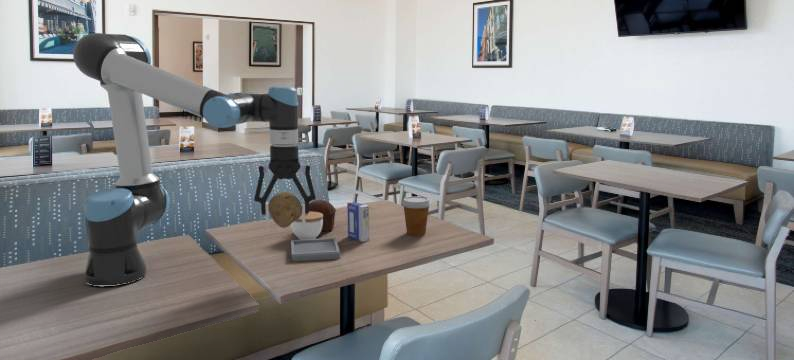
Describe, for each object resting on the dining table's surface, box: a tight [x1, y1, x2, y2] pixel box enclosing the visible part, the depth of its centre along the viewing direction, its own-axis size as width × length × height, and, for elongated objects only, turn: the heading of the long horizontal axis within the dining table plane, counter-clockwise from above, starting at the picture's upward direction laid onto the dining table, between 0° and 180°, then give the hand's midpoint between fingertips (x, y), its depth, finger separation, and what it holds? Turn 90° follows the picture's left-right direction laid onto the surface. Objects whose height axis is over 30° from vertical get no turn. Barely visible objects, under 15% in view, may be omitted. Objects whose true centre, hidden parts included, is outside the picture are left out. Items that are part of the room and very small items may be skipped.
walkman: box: [346, 201, 370, 243], centre depth 193 cm, size 8×3×12 cm, turn 43°
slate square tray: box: [290, 237, 341, 262], centre depth 180 cm, size 14×14×2 cm
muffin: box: [309, 199, 337, 234], centre depth 204 cm, size 12×11×10 cm
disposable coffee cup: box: [401, 195, 431, 237], centre depth 199 cm, size 10×10×12 cm
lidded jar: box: [290, 211, 323, 240], centre depth 194 cm, size 11×11×9 cm
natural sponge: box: [268, 191, 302, 229], centre depth 162 cm, size 9×9×10 cm
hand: (285, 225), depth 163 cm, fingers closed on natural sponge, 9 cm apart
